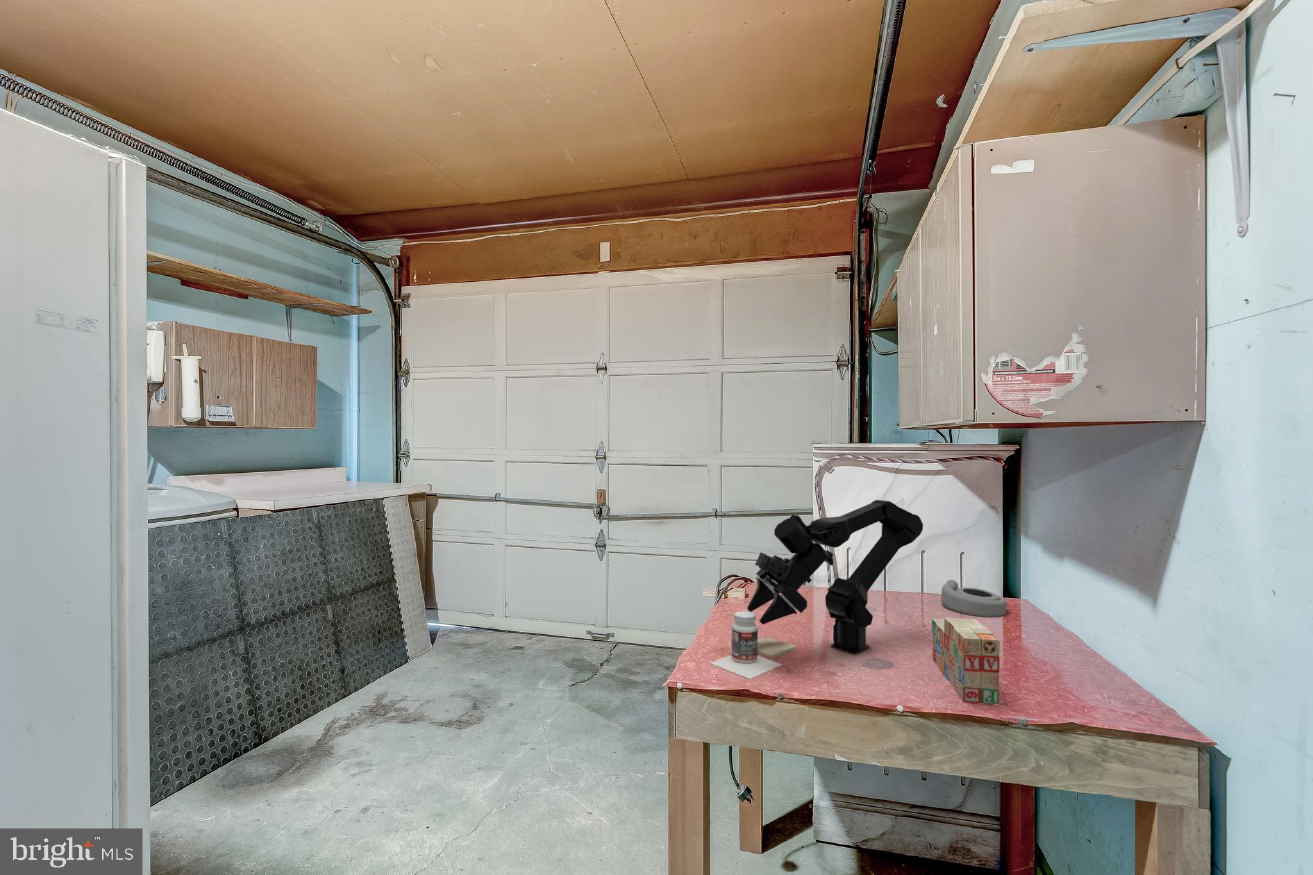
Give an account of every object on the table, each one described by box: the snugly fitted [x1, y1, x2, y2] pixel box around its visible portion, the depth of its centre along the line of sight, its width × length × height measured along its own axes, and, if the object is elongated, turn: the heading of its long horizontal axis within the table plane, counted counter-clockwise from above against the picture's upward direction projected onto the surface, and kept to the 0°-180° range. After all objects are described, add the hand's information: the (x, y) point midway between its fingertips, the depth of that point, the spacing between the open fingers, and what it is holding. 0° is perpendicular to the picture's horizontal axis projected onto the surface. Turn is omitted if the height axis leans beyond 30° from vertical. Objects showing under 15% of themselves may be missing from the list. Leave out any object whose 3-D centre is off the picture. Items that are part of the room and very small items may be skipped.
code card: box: [709, 654, 783, 680], centre depth 124 cm, size 11×11×1 cm
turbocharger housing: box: [940, 579, 1008, 618], centre depth 165 cm, size 17×6×15 cm
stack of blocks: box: [931, 617, 1001, 705], centre depth 116 cm, size 21×6×12 cm, turn 169°
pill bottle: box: [731, 610, 759, 663], centre depth 127 cm, size 6×6×10 cm
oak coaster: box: [758, 636, 797, 659], centre depth 134 cm, size 9×9×1 cm
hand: (754, 616), depth 127 cm, fingers open, 9 cm apart
